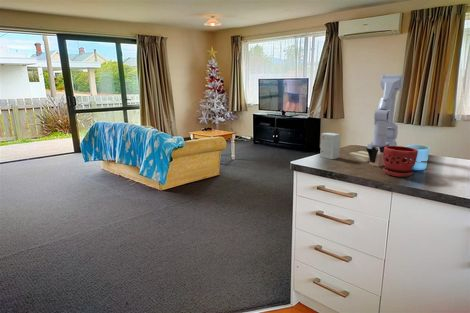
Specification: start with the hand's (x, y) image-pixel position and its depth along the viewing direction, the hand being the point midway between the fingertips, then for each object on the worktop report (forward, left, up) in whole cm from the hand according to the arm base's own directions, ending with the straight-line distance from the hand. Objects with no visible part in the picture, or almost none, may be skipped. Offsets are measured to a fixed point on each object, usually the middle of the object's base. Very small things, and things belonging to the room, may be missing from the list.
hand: (377, 161), depth 153 cm
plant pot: (+6, +15, -2) cm, 16 cm away
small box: (+9, -23, -2) cm, 25 cm away
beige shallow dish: (-5, -12, -2) cm, 13 cm away
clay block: (0, 0, -2) cm, 2 cm away
